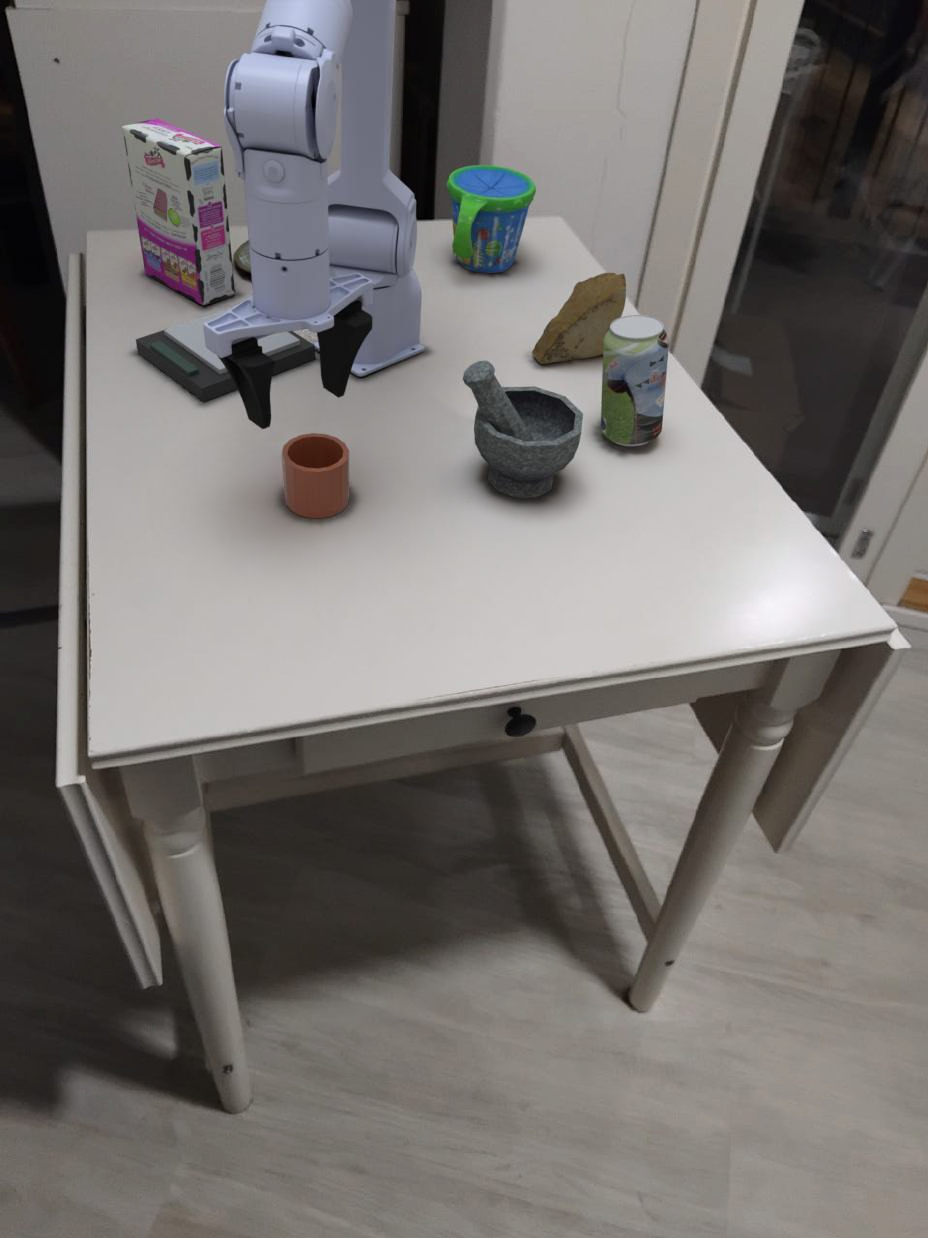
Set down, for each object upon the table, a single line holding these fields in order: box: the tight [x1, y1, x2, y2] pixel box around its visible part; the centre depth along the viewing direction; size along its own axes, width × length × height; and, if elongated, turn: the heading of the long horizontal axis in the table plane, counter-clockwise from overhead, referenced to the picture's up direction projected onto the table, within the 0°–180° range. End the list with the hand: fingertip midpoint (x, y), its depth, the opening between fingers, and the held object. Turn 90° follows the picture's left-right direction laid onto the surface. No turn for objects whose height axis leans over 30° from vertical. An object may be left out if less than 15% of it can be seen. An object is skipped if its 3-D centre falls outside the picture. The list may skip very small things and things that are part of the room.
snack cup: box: [446, 164, 537, 274], centre depth 117 cm, size 16×10×10 cm
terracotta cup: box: [281, 432, 350, 519], centre depth 82 cm, size 6×6×5 cm
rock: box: [531, 272, 627, 365], centre depth 104 cm, size 11×9×10 cm
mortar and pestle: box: [462, 360, 584, 499], centre depth 84 cm, size 11×9×12 cm
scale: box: [135, 305, 316, 403], centre depth 99 cm, size 14×12×2 cm
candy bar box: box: [121, 118, 236, 306], centre depth 105 cm, size 11×5×16 cm, turn 49°
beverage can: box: [600, 314, 670, 447], centre depth 91 cm, size 6×7×12 cm
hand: (297, 406), depth 78 cm, fingers open, 7 cm apart
